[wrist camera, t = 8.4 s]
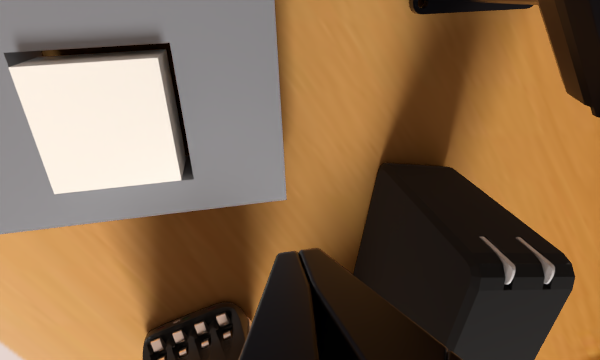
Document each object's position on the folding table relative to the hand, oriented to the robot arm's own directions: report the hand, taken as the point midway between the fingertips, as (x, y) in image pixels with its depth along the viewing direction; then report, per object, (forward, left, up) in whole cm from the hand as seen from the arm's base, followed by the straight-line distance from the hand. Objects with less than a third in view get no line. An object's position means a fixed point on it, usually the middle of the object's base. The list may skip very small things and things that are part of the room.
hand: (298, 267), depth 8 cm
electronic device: (-8, +9, -13) cm, 18 cm away
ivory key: (+6, -1, -12) cm, 13 cm away
